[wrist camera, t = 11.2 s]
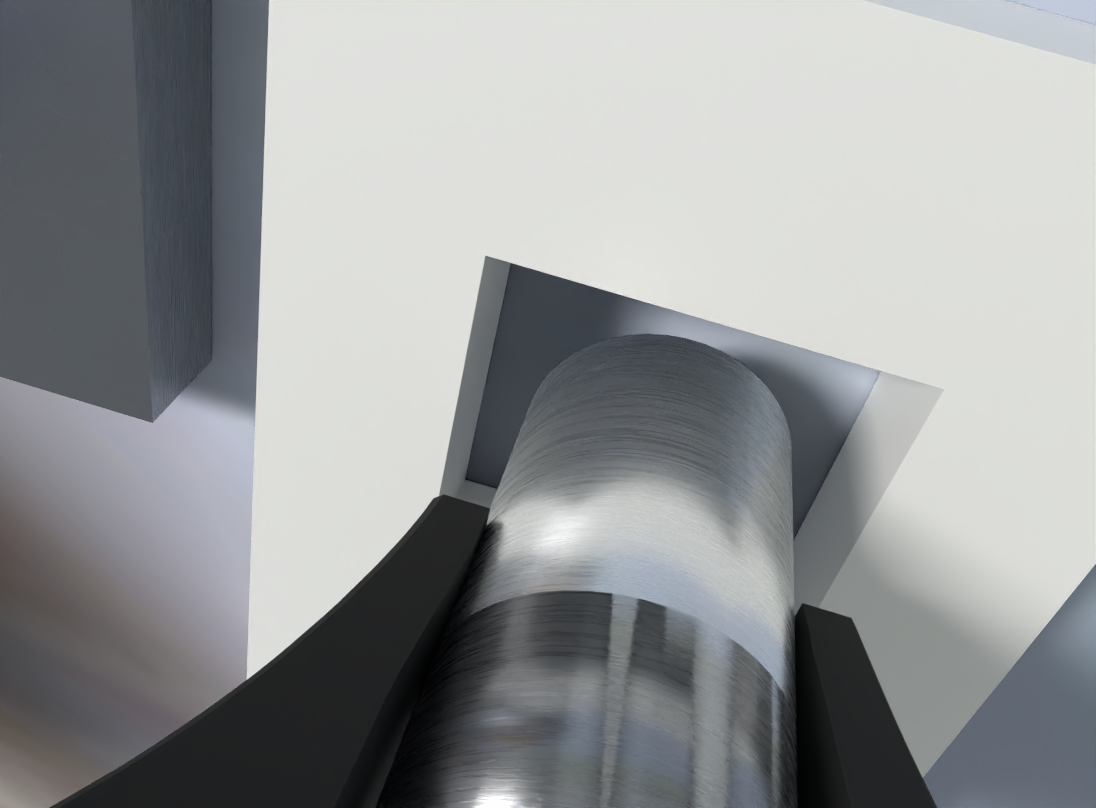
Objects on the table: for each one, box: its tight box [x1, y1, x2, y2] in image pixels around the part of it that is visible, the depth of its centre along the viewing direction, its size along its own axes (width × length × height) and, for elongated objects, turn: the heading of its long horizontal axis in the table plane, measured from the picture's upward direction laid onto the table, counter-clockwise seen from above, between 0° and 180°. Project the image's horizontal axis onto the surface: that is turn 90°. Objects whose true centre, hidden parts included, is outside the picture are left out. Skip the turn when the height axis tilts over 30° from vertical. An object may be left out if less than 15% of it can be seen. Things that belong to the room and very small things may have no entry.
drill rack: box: [247, 0, 1096, 778], centre depth 17 cm, size 22×12×2 cm, turn 168°
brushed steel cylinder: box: [375, 334, 798, 808], centre depth 11 cm, size 4×4×8 cm
